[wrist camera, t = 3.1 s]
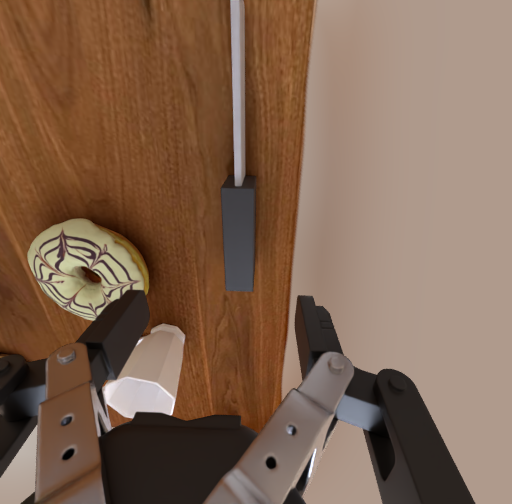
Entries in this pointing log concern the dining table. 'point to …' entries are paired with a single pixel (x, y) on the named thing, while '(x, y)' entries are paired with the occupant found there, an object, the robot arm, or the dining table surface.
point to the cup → (149, 374)
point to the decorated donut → (86, 266)
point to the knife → (239, 176)
